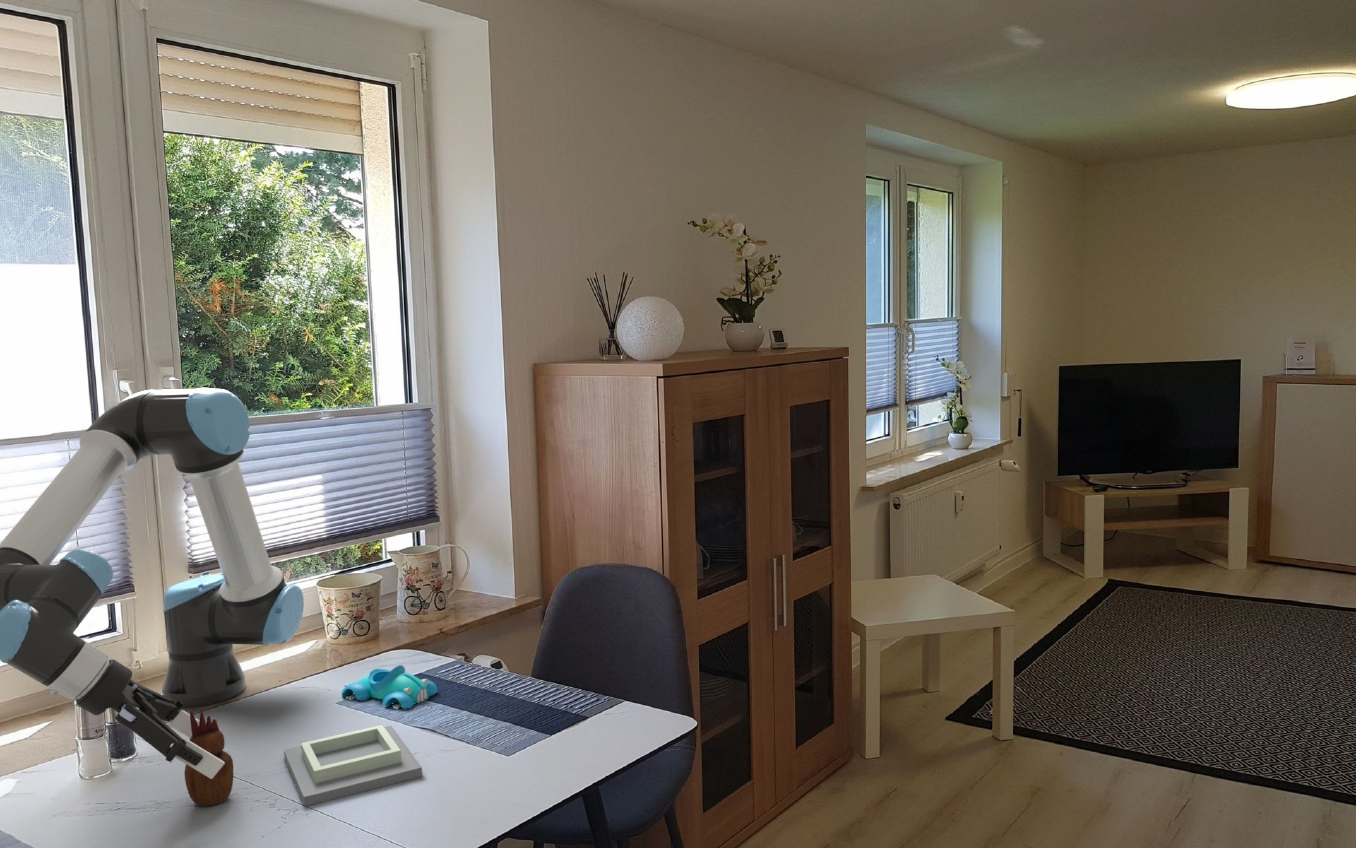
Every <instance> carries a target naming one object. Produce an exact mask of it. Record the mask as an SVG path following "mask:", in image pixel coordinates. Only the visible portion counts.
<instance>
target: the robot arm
mask: <svg viewBox="0 0 1356 848" xmlns="http://www.w3.org/2000/svg"><path fill="white" fill-rule="evenodd" d="M250 427H251V423H250V417H249V414H248V412H247V409H246V407H245V405H244V403H243V402H242V401H241V399H239V397H238V396H236V395H235V394H234V393H233V392H230V391H229V390H226V389H224V388H223V389H221V388H212V387H211V388H210V387H198V388H180V389H148V390H143V391H140V392H135V393H134V394H132V395H129V396H127V397H126V398H124V399H121V400H120V401H119V402H117V403H115V404H114V405H113V406H111V407H110V408H108V409H107V410H106V411H105V412H104V413H102V414H101V415H100V416H99V417H98V418H97V419H95V420H94V422H93V423H92V424H91V425H89V427H88V428H87V429H86V430H85V431H84V433H83V434H82V435H81V436H80V438H79V449H78V450H77V451H76V452H75V453H74V454H73V456H72V457H71V458H70V459H69V461H67V463H66V464H65V465H64V466H63V468H62V469H61V470H60V471H59V472H58V474H57V475H56V476H55V477H54V478H53V480H51V482H50V483H49V485H48V486H47V487H46V488H45V489H44V491H43V492H42V493H41V494H40V495H39V497H38V498H36V500H35V501H34V503H32V505H30V507H29V508H28V509H27V511H26V512H25V513H24V514H23V516H22V517H21V518H20V519H19V521H17V523H16V524H15V525H14V526H13V528H11V530H10V531H9V533H8V534H7V535H6V536H5V537H4V539H3V540H2V541H1V542H0V662H2V663H3V664H8V665H9V666H10V667H12V668H14V669H16V670H17V671H20V672H21V673H23V674H25V675H26V676H28V677H30V678H32V679H33V680H35V681H37V682H39V683H40V684H42V685H43V686H45V687H47V688H48V689H50V691H49V693H50V695H51V696H54V695H57V694H60V696H62V697H63V698H66V699H67V700H68V701H72V700H75V704H76V706H78V707H79V708H82V709H83V710H85V711H86V712H88V713H90V714H92V715H93V716H99V715H102V714H103V713H105V712H106V710H107V709H113V710H114V711H115V712H117V715H115V720H116V722H118V723H120V724H122V725H124V726H125V727H127V728H128V729H129V730H131V731H132V732H133V733H135V734H136V735H137V736H138V737H140V738H141V739H142V740H143V741H145V742H146V743H147V744H149V745H150V747H152V748H154V750H156V751H157V752H159V753H160V754H162V756H164V757H165V760H166V761H167V762H168V763H171V762H173V760H174V759H175V758H176V759H177V760H179V761H180V762H182V763H184V764H185V765H186V764H187V765H189V766H190V767H192V768H194V769H195V770H197V771H199V772H200V773H202V774H204V775H205V776H207V777H209V778H210V779H212V778H213V777H214V776H215V775H216V773H217V772H218V771H219V770H220V769H221V767H222V766H223V765H224V764H225V763H224V761H222V760H220V759H219V758H217V757H216V756H214V755H212V754H211V753H209V752H207V751H206V750H204V749H202V748H201V747H199V746H197V745H196V744H194V743H193V742H191V741H190V738H191V736H192V731H191V721H190V713H188V712H187V711H185V710H184V709H182V708H191V707H192V708H193V707H199V706H207V705H212V704H216V703H219V702H220V703H221V702H223V701H226V700H229V699H231V698H234V697H235V696H238V695H239V694H241V693H242V692H243V691H244V690H245V689H246V684H247V683H246V677H245V676H246V675H245V673H244V671H243V668H242V667H241V664H240V663H239V660H238V657H237V656H236V653H235V651H234V646H233V645H244V646H245V645H247V646H248V645H249V646H252V645H254V646H255V645H256V646H257V645H259V646H266V647H269V646H272V645H274V646H275V645H284V644H286V643H288V642H290V641H291V640H292V639H293V637H294V636H295V634H296V633H297V632H298V630H299V628H300V625H301V623H302V619H303V614H304V606H305V601H304V600H305V599H304V593H303V591H302V589H301V588H300V586H297V585H296V584H294V583H288V584H287V583H286V580H285V578H284V574H283V572H282V570H281V569H280V568H279V567H277V566H275V565H272V564H271V561H270V558H269V555H268V552H267V549H266V546H265V542H264V539H263V537H262V533H261V530H260V526H259V524H258V520H257V518H256V515H255V511H254V508H253V504H252V501H251V498H250V496H249V492H248V490H247V489H248V488H247V487H246V483H245V480H244V477H243V473H242V471H241V467H240V463H239V461H240V459H241V458H242V457H243V455H244V452H245V451H244V449H245V447H246V446H247V444H248V441H249V439H250V434H251V433H250V431H249V429H250ZM153 455H158V456H159V455H170V456H171V458H172V462H173V464H174V467H175V469H176V471H177V472H178V473H180V474H183V475H185V476H187V477H188V478H189V481H190V485H191V487H192V489H193V493H194V495H195V499H196V501H197V505H198V507H199V510H200V514H201V515H202V519H203V522H204V524H205V525H204V526H205V529H206V531H207V533H208V536H209V539H210V542H211V546H212V547H213V551H214V553H215V556H216V559H217V562H218V565H219V569H220V571H221V574H215V575H207V576H206V575H205V576H201V577H198V578H197V577H196V578H193V579H189V580H185V581H182V582H179V583H176V584H174V585H171V586H169V588H168V589H166V590H165V592H164V593H163V609H162V611H163V613H164V615H163V616H164V623H165V633H166V643H167V652H168V654H167V655H168V665H167V667H166V672H165V677H164V679H163V685H162V688H161V693H159V692H157V691H155V690H152V689H150V688H147V687H145V686H143V685H141V684H139V683H137V682H135V681H134V680H133V679H132V677H133V671H132V670H131V669H130V668H128V667H127V666H125V665H124V664H122V663H120V662H119V661H117V660H116V659H113V658H112V659H109V655H108V654H106V653H105V652H104V651H102V650H101V649H98V648H97V647H95V646H93V645H92V644H91V643H89V642H88V641H85V640H83V639H82V638H80V637H79V636H78V635H77V634H75V631H76V630H77V629H78V628H79V626H80V625H81V623H82V622H83V621H84V619H85V618H86V617H87V615H88V614H89V613H90V611H92V609H93V608H94V606H95V605H96V604H97V603H98V602H99V600H100V599H101V598H102V597H103V596H104V593H105V591H106V589H107V587H108V586H109V584H110V583H111V582H112V580H113V578H114V570H113V568H112V565H111V564H110V563H109V561H108V560H107V559H106V557H104V556H102V555H101V554H99V553H97V552H95V551H92V550H90V549H86V548H76V549H73V550H71V551H69V552H67V553H66V554H65V556H63V557H62V558H60V559H59V562H58V563H57V564H52V562H53V561H54V560H55V559H56V557H57V556H58V555H59V553H60V552H61V550H62V549H64V547H65V546H66V545H67V543H68V542H69V540H71V538H72V537H73V535H74V534H75V533H76V531H77V530H78V529H79V527H81V525H82V524H83V522H84V521H86V518H87V517H88V516H89V515H90V514H91V512H92V511H93V510H94V508H95V507H96V506H97V505H98V503H99V502H100V500H102V498H103V496H104V495H105V494H106V493H107V492H108V490H109V489H110V488H111V486H112V485H113V483H114V482H115V481H116V480H117V479H118V477H119V476H120V475H121V474H122V473H126V472H128V471H130V470H132V469H133V468H134V467H135V465H136V464H137V463H138V462H139V461H140V460H141V459H143V458H145V457H148V456H149V457H150V456H153ZM195 719H196V722H197V724H198V726H199V721H200V719H198V718H196V717H195ZM166 722H167V723H168V724H169V725H168V724H167V723H166ZM172 728H173V729H174V730H173V729H172ZM175 730H176V731H178V732H180V733H181V734H183V735H185V736H186V737H188V738H189V739H183V737H182V736H180V735H179V734H178V733H177V732H176V731H175Z"/></svg>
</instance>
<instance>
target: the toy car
mask: <svg viewBox="0 0 1356 848" xmlns="http://www.w3.org/2000/svg"><path fill="white" fill-rule="evenodd" d="M437 691H438V687H437V684H435V682H434V681H432V680H429V678H423V679H420V678H419V677H417V676H416V675H413V674H410V673H409V672H406V669H405V666H404V665H402V664H399V665H396V667H395V666H394V668H392V669H391V670H389V669H382V668H375V669H373V670H371V671H370V672H369V673H367V675H366V676H363V677H362V678H360V679H359V680H358V681H357V682H351V683H349V684H348V683H345V684H344V688H343V689H342V691H341V697H344V698H345V699H349V700H348V701H350V700H351V699H352V698H355V699H356V701H358V700H364V701H366V700H365V699H367V700H369V699H370V698H373V699H375V698H377V699H376V700H380V699H381V700H380V701H382V704H383V705H384V706H385V707H386V706H388V705H391V704H392V703H395V702H398V703H395V704H393V705H391V706H392V707H396V708H398V707H401V706H402V707H401V708H402V709H403V710H404V709H406V710H408V709H407V708H409V707H411V708H413V706H414V705H415V704H414V703H419V702H420V701H422V700H424V701H426V700H428V699H429V698H430V697H432V696H434V695H435V694H437ZM352 693H354V694H352ZM350 694H351V695H350ZM347 695H349V696H347ZM345 696H346V697H345ZM368 698H369V699H368ZM425 699H426V700H425ZM351 701H352V700H351ZM422 702H423V701H422ZM420 703H421V702H420ZM420 703H419V704H420ZM413 704H414V705H413ZM383 705H382V706H383ZM385 707H384V708H385ZM396 708H395V709H396ZM409 709H410V708H409Z"/></svg>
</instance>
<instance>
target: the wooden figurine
mask: <svg viewBox="0 0 1356 848" xmlns="http://www.w3.org/2000/svg"><path fill="white" fill-rule="evenodd" d="M189 714H190V721H191V731H192V736H191V738H189V741H191V742H193V743H194V744H196V745H197V746H199V747H201V748H202V749H204V750H206V751H207V752H209V753H211V754H212V755H214V756H216V757H217V758H219V759H220V760H222V761H224V763H225V764H224V765H223V766H222V767H221V769H220V770H219V771H218V772H217V773H216V775H215V776H214V777H213V778H212V779H210V778H209V777H207V776H205V775H204V774H202V773H200V772H199V771H197V770H195V769H194V768H192V767H190V766H189V765H187V764H185V768H184V781H185V782H184V783H185V786H186V790H187V794H188V795H189V798H190V799H191V801H192V802H193V804H195V805H197V806H199V807H209V806H215V805H217V804H220V803H223V802H225V801H226V800H227V799H228V798H229V797H230V795H231V793H232V790H233V785H234V784H233V783H234V761H233V758H232V756H231V755H230V754H229V753H228V752H227V751H225V750H224V748H225V743H226V742H225V741H226V740H225V737H224V736H225V735H224V734H223V732H222V731H221V730H220V729H219V726H218V722H217V720H216V718H213V719H211V716H210V715H208V716H207V717H206V720H205V714H204V712H203V710H201V711H200V713H199V720H200V721H199V726H198V724H197V722H196V719H197V718H196V717H195V715H194V713H193V711H192V710H191V711H189ZM195 718H196V719H195Z"/></svg>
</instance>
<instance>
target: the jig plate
mask: <svg viewBox="0 0 1356 848" xmlns="http://www.w3.org/2000/svg"><path fill="white" fill-rule="evenodd" d="M283 758H285V759H284V761H285V762H286V763H285V764H286V766H287V765H288V766H287V767H288V771H289V770H290V771H289V772H291V773H290V775H291V777H293V778H292V780H293V782H294V784H296V785H295V787H296V789H298V790H297V792H298V794H299V797H300V799H301V800H302V801H301V802H302V803H303V806H304V807H307V806H312V805H316V804H320V803H323V802H327V801H332V800H335V799H339V798H343V797H346V796H347V797H348V796H351V795H354V794H358V793H362V792H366V791H371V790H375V789H378V788H383V787H386V786H391V785H394V784H398V783H401V782H405V781H410V780H414V779H417V778H421V777H423V766H421V763H419V761H418V760H417V759H416V757H415V756H414V754H413V753H412V752H411V751H410V749H409V748H408V746H407V745H406V744H405V742H404V741H403V740H402V738H401V737H400V735H399V734H398V733H397V731H396V730H395V729H394V727H393V726H392V725H387V726H384V725H383V724H381V725H380V724H379V725H375V726H372V727H367V728H362V729H358V730H353V731H348V732H345V733H340V734H337V735H336V734H335V735H331V736H327V737H323V738H319V739H313V740H310V741H309V740H308V741H304V742H301V743H300V746H296V747H291V748H288V749H283Z"/></svg>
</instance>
